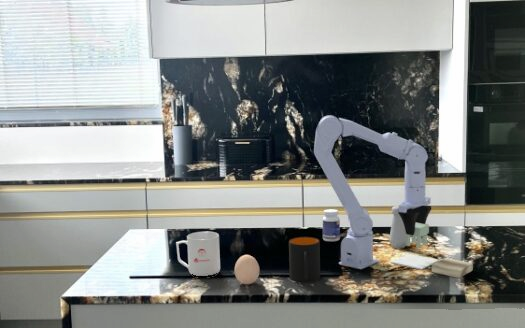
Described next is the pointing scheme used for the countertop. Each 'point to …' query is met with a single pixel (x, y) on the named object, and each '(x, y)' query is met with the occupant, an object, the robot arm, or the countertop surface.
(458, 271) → the step
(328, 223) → the pill bottle
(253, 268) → the egg
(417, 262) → the pad
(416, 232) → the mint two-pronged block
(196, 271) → the mug
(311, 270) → the mug
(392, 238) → the salt shaker
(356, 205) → the robot arm
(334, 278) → the countertop surface
